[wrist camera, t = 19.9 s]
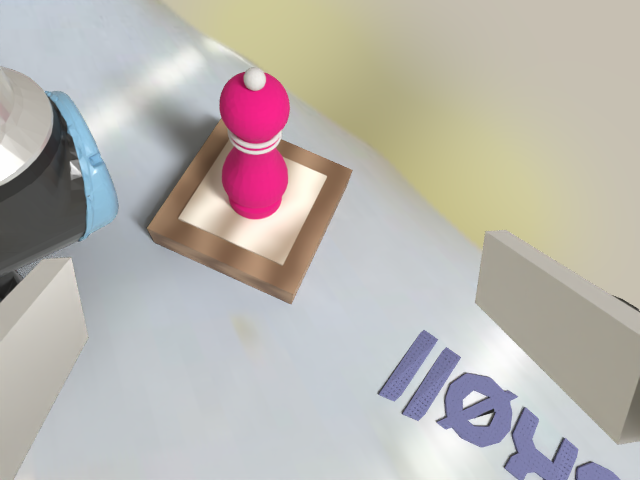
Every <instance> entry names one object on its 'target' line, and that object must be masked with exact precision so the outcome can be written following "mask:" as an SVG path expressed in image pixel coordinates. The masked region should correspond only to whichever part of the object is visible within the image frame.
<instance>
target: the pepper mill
mask: <svg viewBox="0 0 640 480" xmlns="http://www.w3.org/2000/svg"><path fill="white" fill-rule="evenodd" d="M289 111H290V105H289V99H288V95H287V93H286V91H285V89H284V87H283V86H282V84H281V83H280V82H279V81H278V80H277V79H276V78H274V77H273V76H271V75H269V74H267V73H264V72H263V71H262V70H261V69H259V68H256V67H252V68H249V69H248V70H247V71H246V72H243V73H240V74H237V75H235V76H234V77H232V78H231V79H230V80H229V81H228V82H227V83H226V85H225V86H224V88H223V90H222V92H221V96H220V113H221V117H222V120H223V122H224V124H225V125H226V127H227V129H228V137H229V139H230V141H231V143H232V144H233V145H234V147H233V148H232V150H231V151H230V152H229V154H228V155H227V157H226V159H225V162H224V164H223V168H222V184H223V187H224V190H225V191H226V193H227V195H228V197H229V202H230V205H231V206H232V208H233V209H234V211H235V212H236V213H238V214H239V215H241V216H243V217H245V218H248V219H263V218H266V217H269V216H271V215H272V214H274V213H275V212H276V211H277V209H278V208H279V207H280V204H281V201H282V196H283V194H284V193H285V191H286V188H287V185H288V169H287V166H286V163H285V161H284V159H283V157H282V155H281V154H280V152H279V151H278V150H277V149H276V146H277V145H278V144H279V142H280V140H281V137H282V129H283V128H284V126H285V124H286V123H287V120H288V117H289Z"/></svg>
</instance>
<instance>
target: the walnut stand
mask: <svg viewBox="0 0 640 480" xmlns="http://www.w3.org/2000/svg"><path fill="white" fill-rule="evenodd" d="M233 147H234V145H233V144H232V143H231V141H230V139H229V137H228V129H227V127H226V125H225V124H224V122H223V120H222V118H221V119H220V121H219V122H218V124H217V125H216V127H215V128H214V130H213V131H212V133H211V134H210V136H209V137H208V139H207V140H206V142H205V143H204V145H203V146H202V147H201V149H200V150H199V152H198V153H197V155H196V156H195V158H194V159H193V161H192V162H191V164H190V165H189V167H188V168H187V170H186V171H185V173H184V174H183V176H182V177H181V179H180V180H179V181H178V183H177V184H176V186H175V187H174V189H173V190H172V192H171V193H170V195H169V196H168V198H167V199H166V201H165V202H164V204H163V205H162V207H161V208H160V210H159V211H158V212H157V214H156V215H155V217H154V218H153V220H152V221H151V223H150V224H149V226H148V227H147V229H148V231H149V233H150V235H151V237H152V239H153V241H154V243H157V244H159V245H161V246H163V247H166V248H168V249H170V250H172V251H174V252H177V253H179V254H181V255H183V256H185V257H188V258H190V259H192V260H194V261H196V262H199V263H201V264H203V265H205V266H207V267H210V268H212V269H214V270H216V271H218V272H221V273H223V274H225V275H227V276H229V277H232V278H234V279H236V280H238V281H241V282H243V283H245V284H247V285H249V286H252V287H254V288H256V289H258V290H260V291H263V292H265V293H267V294H269V295H271V296H274V297H276V298H278V299H280V300H282V301H285V302H287V303H289V304H292V302H293V300H294V297H295V295H296V293H297V291H298V289H299V287H300V285H301V283H302V280H303V278H304V276H305V274H306V272H307V270H308V268H309V266H310V263H311V261H312V259H313V257H314V255H315V253H316V251H317V249H318V246H319V244H320V242H321V240H322V238H323V236H324V234H325V232H326V229H327V227H328V225H329V223H330V221H331V219H332V217H333V215H334V212H335V210H336V208H337V206H338V204H339V202H340V200H341V198H342V195H343V193H344V191H345V189H346V187H347V184H348V182H349V179H350V176H351V173H352V170H351V169H349V168H346V167H344V166H342V165H340V164H337V163H335V162H333V161H330V160H328V159H326V158H323V157H321V156H319V155H316V154H314V153H312V152H310V151H307V150H305V149H303V148H300V147H298V146H296V145H293V144H291V143H289V142H286V141H284V140H282V139H281V140H280V142H279V144H278V145H277V146H276V149H277V150H278V151H279V152H280V154H281V155H282V157H283V159H284V161H285V163H286V166H287V169H288V185H287V188H286V191H285V193H284V194H283V196H282V201H281V204H280V207H279V208H278V209H277V211H276V212H275V213H274V214H272V215H271V216H269V217H266V218H263V219H248V218H245V217H243V216H241V215H239V214H238V213H236V212H235V211H234V209H233V208H232V206H231V205H230V202H229V197H228V195H227V193H226V191H225V190H224V187H223V184H222V168H223V164H224V162H225V159H226V157H227V155H228V154H229V152H230V151H231V150H232V148H233Z"/></svg>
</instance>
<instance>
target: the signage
mask: <svg viewBox="0 0 640 480" xmlns="http://www.w3.org/2000/svg"><path fill="white" fill-rule="evenodd" d="M437 341H438V339H436V338H435V337H434V336H432V335H431V334H429V333H428V332H426V331H425V330H423V331H422V332H421V333H420V334H419V336H418V337H417V339H416V340H415V342H414V343H413V345H412V346H411V347H410V349H409V350H408V352H407V353H406V355H405V356H404V358H403V359H402V361H401V362H400V364H399V365H398V367H397V368H396V370H395V371H394V372H393V374H392V375H391V377H390V378H389V380H388V381H387V383H386V384H385V386H384V387H383V389H382V390H381V392H380V393H379V395H380V396H383V397H385V398H387V399H390V400H392V401H395V400H396V399H398V398H399V397H400V396H401V395H402V393H403V392H404V390H405V389H406V387H407V386H408V384H409V383H410V381H411V380H412V378H413V377H414V375H415V374H416V372H417V371H418V369H419V368H420V366H421V365H422V363H423V362H424V360H425V359H426V357H427V356H428V354H429V353H430V351H431V350H432V348H433V347H434V345H435V344H436V342H437ZM460 358H461V357H460V356H458V355H457V354H455V353H454V352H453V351H451V350H450V349H448V348H447V347H446V348H445V349H444V350H443V351H442V353H441V354H440V356H439V357H438V359H437V360H436V362H435V363H434V365H433V367H432V368H431V370H430V371H429V373H428V374H427V376H426V378H425V379H424V381H423V382H422V384H421V385H420V387H419V388H418V390H417V392H416V393H415V395H414V396H413V398H412V399H411V401H410V402H409V404H408V406H407V407H406V409H405V410H404V412H403V413H402V414H403V415H406V416H408V417H410V418H413V419H415V420H417V421H419V420H420V419H421V418H422V417H423V416H424V415H425V414H426V412H427V410H428V409H429V407H430V406H431V404H432V402H433V401H434V399H435V398H436V396H437V395H438V393H439V391H440V390H441V388H442V387H443V385H444V383H445V382H446V380H447V379H448V377H449V375H450V374H451V372H452V371H453V369H454V368H455V366H456V364H457V363H458V361H459V360H460ZM473 390H474V391H477V392H479V393H481V394H483V395H486V396H488V397H489V398H487V399H485V400H483V401H481V402H479V403H477V404H475V405H473V406H471V407H469V408H467V409H465V410H463V399H464V398H465V397H466V396H467V395H469V394H470V393H471V392H472V391H473ZM517 397H518V396H516V395H515V394H513V393H512V392H510V391H508V390H507V391H505V392H504V391H503V390H502V389H501V388H500V387H499V386H498V385H497V384H496V383H495V382H494V381H493V380H492V379H491V378H490V377H485V376H479V375H474V374H469V373H466V374H464V375H462V376H460V377H459V378H458V379H456V380H455V381H454V382H453V383H452V384H451V385H450V386H449V388H448V391H447V394H446V398H445V410H446V416H447V418H444V419H442V420H440V421H438V422H437V423H438V424H439V425H440V426H442V427H443V428H444V429H448V428H451V427H452V428H453V429H454V430H455V432H456V433H457V434H458V435H459V436H460V437H461V438H462V439H464V440H466V441H468V442H470V443H473V444H475V445H477V446H479V447H485V446H489V445H492V444H496V443H499V442H501V440H502V439H503V438H504V437H505V436H506V434H507V433H508V432H509V431H510V428H511V419H512V409H511V405H510V401H511V400H513V399H515V398H517ZM493 412H495V414H494V418H493V420H492V422H491V424H490V425H489V426H488V427H479V426H473V425H472V424H471V423H470V422H469V421H468V420H469V419H473V418H476V417H480V416H483V415H486V414H490V413H493ZM538 422H539V419H538V418H537V417H536V416H535V415H534V414H533V413H532V412H530V411H529V410H528V409H527V408H526V407H525V408H524V409H523V412H522V414H521V416H520V418H519V420H518V422H517V425H516V427H515V429H514V432H513V434H512V438H513V442H514V445H515V447H516V450H517V452H518V453H517V454H515V455H513V456H511V457H510V459H509V460H508V462H507V464H506V466H505V469H506V470H507V471H508V472H509V473H511V474H512V475H513V476H514V477H516V478H517V479H518V480H524V478H525V476H526V474H527V473H531V472H535V473H536V474H538V475H539V476H540V477H542V478H543V479H544V480H567V479H568V477H569V474H570V472H571V470H572V467H573V465H574V462H575V460H576V458H577V454H578V449H577V448H576V447H575V446H574V445H573V444H572V443H570V442H569V441H568V440H567V439H566V438H564V439H563V441H562V443H561V446H560V448H559V450H558V452H557V454H556V456H555V459H554V461H553V462H552V461H550V460H549V459H548V458H547V457H545V456H544V455H543V454H542V453H540V452H539V451H538V450H537V449H536V448H535V446H534V443H533V441H532V438H533V435H534V432H535V430H536V427H537V424H538ZM576 480H620V479H619V478H618V477H617V476H616V475H615V474H614V473H613V472H612V471H610V470H608V469H606V468H604V467H602V466H600V465H598V464H596V463H594V462H592V463H587V464H584V465H582V466H579V467H578V468H577V470H576Z"/></svg>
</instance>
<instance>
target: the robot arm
mask: <svg viewBox="0 0 640 480" xmlns="http://www.w3.org/2000/svg"><path fill="white" fill-rule="evenodd" d="M118 207H119V205H118V198H117V194H116V191H115V188H114V185H113V182H112V179H111V177H110V174H109V172H108V169H107V167H106V165H105V163H104V161H103V160H102V158H101V157H100V152H99V150H98V148H97V145H96V142H95V140H94V138H93V136H92V134H91V132H90V130H89V128H88V126H87V124H86V123H85V121H84V119H83V117H82V115H81V114H80V112H79V110H78V109H77V107H76V106H75V104H74V102H73V101H72V100H71V99H70V97H69V96H68V95H67V94H65V93H64V92H61V91H53V92H49V91H45V92H44V91H43V89H42V88H41V87H40V86H39V85H38V84H37V83H35V82H34V81H33V80H32V79H31V78H29V77H27V76H26V75H24V74H22V73H20V72H17V71H15V70H12V69H9V68H5V67H1V66H0V480H14V478H15V476H16V474H17V472H18V470H19V468H20V466H21V464H22V463H23V461H24V459H25V457H26V455H27V453H28V451H29V449H30V447H31V445H32V444H33V442H34V440H35V438H36V436H37V434H38V432H39V430H40V428H41V427H42V425H43V423H44V421H45V419H46V417H47V415H48V413H49V411H50V409H51V408H52V406H53V404H54V402H55V400H56V398H57V396H58V394H59V392H60V391H61V389H62V387H63V385H64V383H65V381H66V379H67V377H68V375H69V374H70V372H71V370H72V368H73V366H74V364H75V362H76V360H77V358H78V356H79V355H80V353H81V351H82V349H83V347H84V345H85V343H86V341H87V339H88V338H89V337H88V332H87V328H86V323H85V319H84V314H83V309H82V305H81V300H80V296H79V291H78V286H77V282H76V277H75V273H74V268H73V263H72V259H71V257H68V258H52V259H42V260H41V261H40V262H39V263H38V264H37V265H36V267H35V268H34V269H33V270H32V271H31V272H30V273H29V274H28V275H27V276H26V277H25V278H24V279H23V278H22V277H21V276H20V275H19V274H18V273H17V272H16V271H15V270H17V269H19V268H21V267H24V266H26V265H28V264H30V263H32V262H34V261H36V260H39V259H41V258H43V257H45V256H47V255H49V254H51V253H54V252H56V251H58V250H60V249H62V248H64V247H67V246H69V245H71V244H73V243H75V242H77V241H82V240H84V239H86V238H87V237H88V236H89V234H91V233H93V232H94V231H96V230H98V229H100V228H102V227H104V226H105V225H107V224H109V223H110V222H112V221H113V220H114V218H115V217H116V215H117V212H118ZM475 303H476V304H477V305H478V306H479V307H480V308H481V309H482V310H483V311H484V312H485V313H486V314H487V315H488V316H489V317H490V318H491V319H492V320H493V321H494V322H495V323H496V324H497V325H498V326H499V327H500V328H501V329H502V330H503V331H504V332H505V333H506V334H507V335H508V336H509V337H510V338H511V339H512V340H513V341H514V342H515V343H516V344H517V345H518V346H519V347H520V348H521V349H522V350H523V351H524V352H525V353H526V354H527V355H528V356H529V357H530V358H531V359H532V360H533V361H534V362H535V363H536V364H537V365H538V366H539V367H540V368H541V369H542V370H543V371H544V372H545V373H546V374H547V375H548V376H549V377H550V378H551V379H552V380H553V381H554V382H555V383H556V384H557V385H558V386H559V387H560V388H561V389H562V390H563V391H564V392H565V393H566V394H567V395H568V396H569V397H570V398H571V399H572V400H573V401H574V402H575V403H576V404H577V405H578V406H579V407H580V408H581V409H582V410H583V411H584V412H585V413H586V414H587V415H588V416H589V417H590V418H591V419H592V420H593V421H594V422H595V423H596V424H597V425H598V426H599V427H600V428H601V429H602V430H603V431H604V432H605V433H606V434H607V435H608V436H609V437H610V438H611V439H612V440H613V441H614V442H615V443H616V444H617V445H619V444H625V443H632V442H638V441H640V311H639V309H638V308H636V307H634V306H633V305H631V304H629V303H628V302H626V301H625V300H623V299H621V298H618V297H616V296H613V295H610V294H609V293H607V292H605V291H604V290H603V289H601V288H599V287H598V286H596V285H594V284H593V283H591V282H590V281H588V280H586V279H584V278H583V277H581V276H580V275H578V274H577V273H575V272H573V271H572V270H570V269H568V268H567V267H565V266H563V265H562V264H560V263H559V262H557V261H555V260H554V259H552V258H551V257H549V256H547V255H546V254H544V253H542V252H541V251H539V250H538V249H536V248H534V247H533V246H531V245H530V244H528V243H526V242H525V241H523V240H521V239H520V238H518V237H517V236H515V235H513V234H512V233H510V232H508V231H506V230H499V231H486V232H485V238H484V245H483V251H482V258H481V265H480V272H479V279H478V285H477V292H476V299H475Z"/></svg>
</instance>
